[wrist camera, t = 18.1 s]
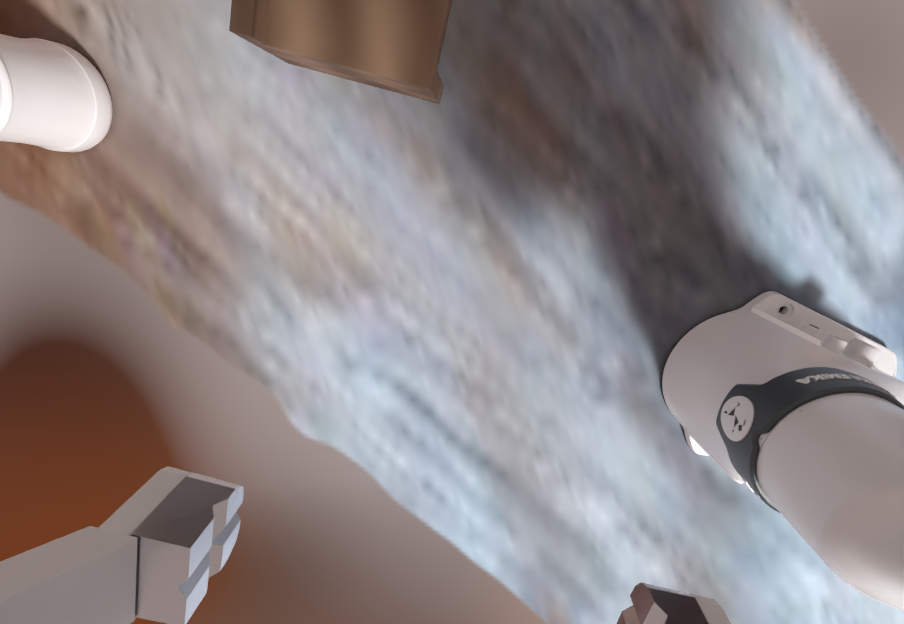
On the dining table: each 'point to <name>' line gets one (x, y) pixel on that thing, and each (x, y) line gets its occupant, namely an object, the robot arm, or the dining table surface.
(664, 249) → the dining table surface
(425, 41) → the walnut shelf
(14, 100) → the vodka
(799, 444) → the robot arm
